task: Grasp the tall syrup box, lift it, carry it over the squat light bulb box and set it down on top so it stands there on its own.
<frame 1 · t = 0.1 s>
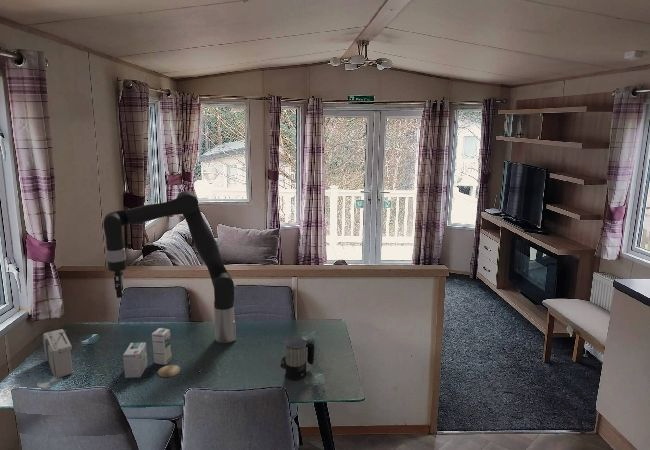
hand: (120, 293, 213), 29 cm above the table, fingers open, 8 cm apart
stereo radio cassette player: (60, 367, 209), on the table
syrup box: (163, 361, 214), on the table
light bulb box: (136, 371, 206), on the table
milk frother: (292, 370, 208), on the table
cork coaster: (169, 371, 206), on the table
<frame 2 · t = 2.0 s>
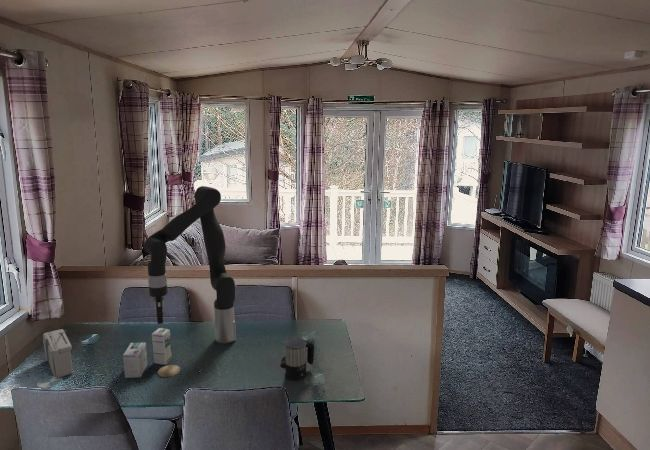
hand: (160, 319, 210), 20 cm above the table, fingers open, 8 cm apart
nothing on the table moved.
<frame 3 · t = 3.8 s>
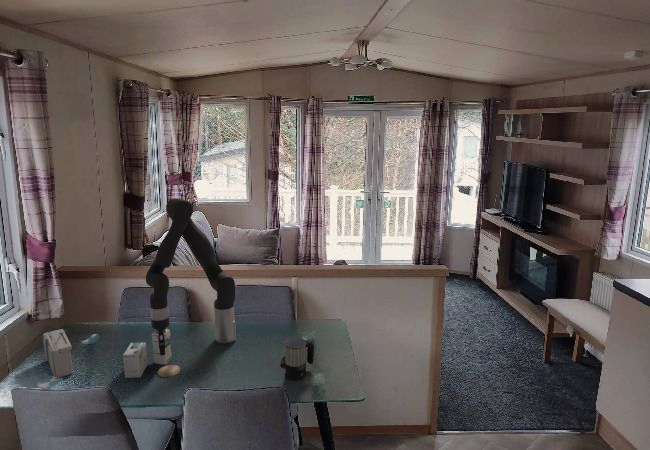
hand: (162, 350, 213), 5 cm above the table, fingers closed on syrup box, 7 cm apart
syrup box: (163, 361, 214), on the table, touching gripper
everything else where it was.
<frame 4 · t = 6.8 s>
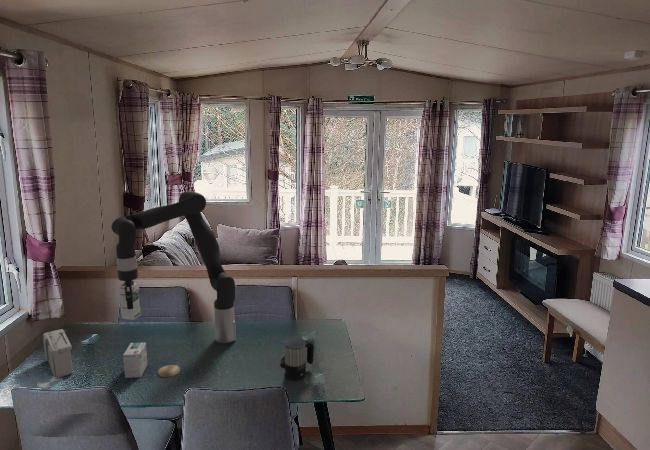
hand: (130, 305, 199), 30 cm above the table, fingers closed on syrup box, 7 cm apart
syrup box: (131, 317, 200), point 25 cm above the table, touching gripper
everything else where it was.
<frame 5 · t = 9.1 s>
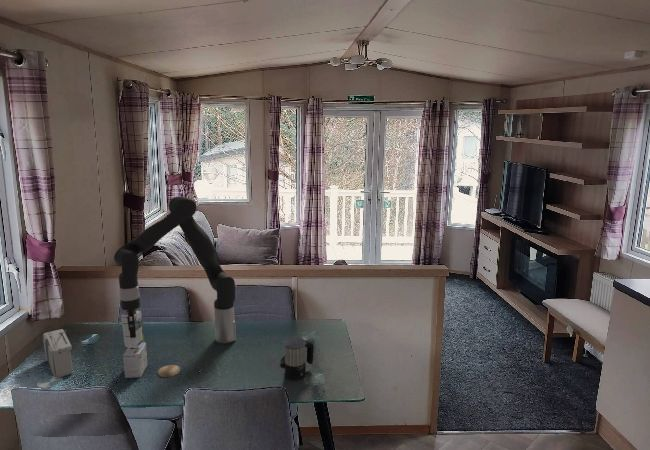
hand: (133, 333, 202), 17 cm above the table, fingers closed on syrup box, 7 cm apart
syrup box: (134, 344, 203), point 12 cm above the table, touching gripper
everything else where it was.
when the fingers open (17 cm above the table, at t = 10.2 s): syrup box drops 2 cm, resting on light bulb box.
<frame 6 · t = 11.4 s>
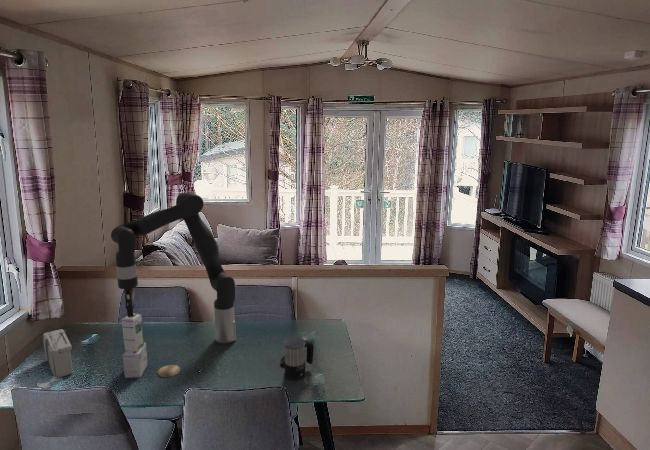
hand: (130, 312, 200), 27 cm above the table, fingers open, 8 cm apart
syrup box: (134, 348, 204), point 10 cm above the table, touching light bulb box
light bulb box: (136, 371, 206), on the table, touching syrup box
everything else where it was.
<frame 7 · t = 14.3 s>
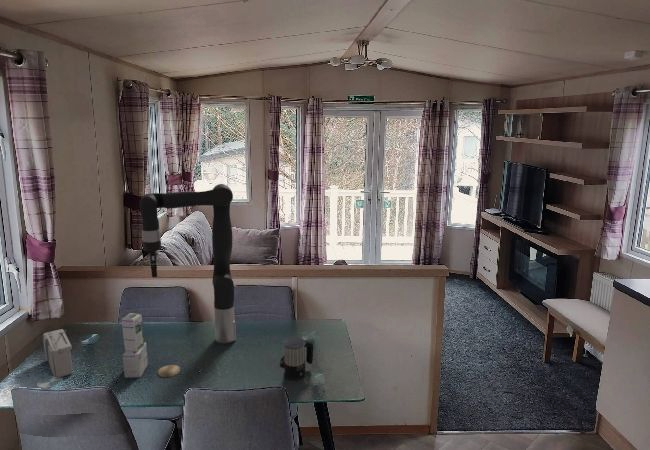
hand: (154, 273, 218), 36 cm above the table, fingers open, 8 cm apart
nothing on the table moved.
at the end: syrup box inside the target area on the light bulb box (0.0 cm from its centre), point 10.8 cm above the light bulb box's base; syrup box tilted 0°; the gripper is holding nothing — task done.
